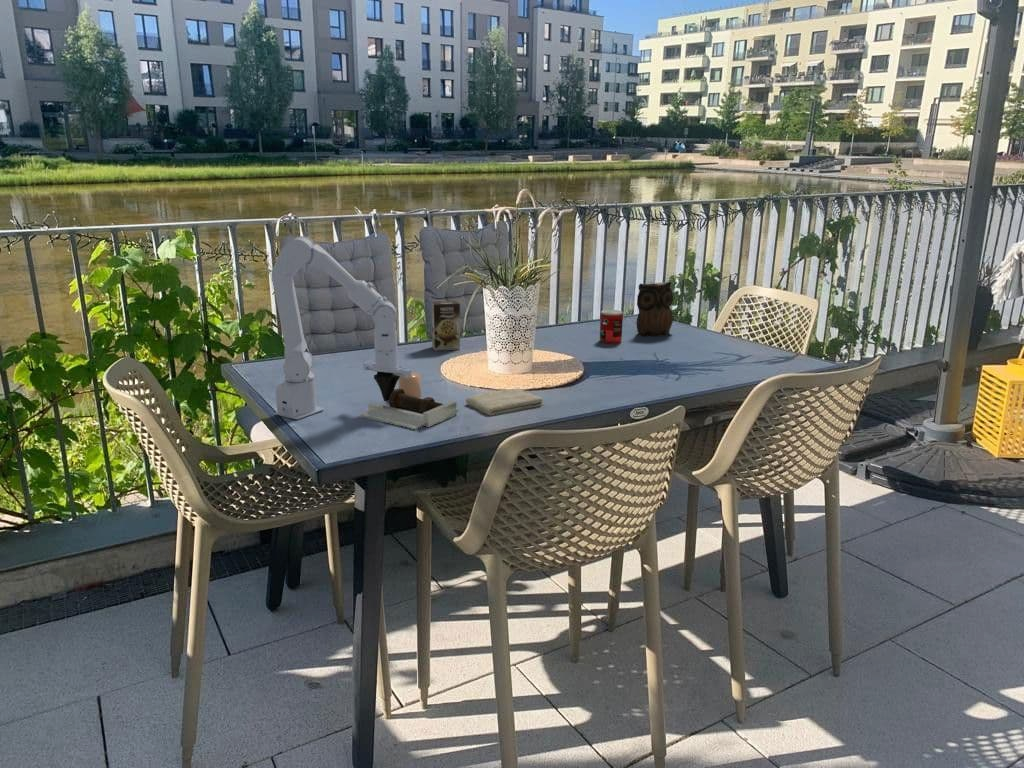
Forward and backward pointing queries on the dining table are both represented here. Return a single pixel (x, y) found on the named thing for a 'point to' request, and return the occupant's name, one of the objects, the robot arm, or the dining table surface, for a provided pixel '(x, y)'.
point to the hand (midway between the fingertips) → (387, 400)
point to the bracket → (410, 415)
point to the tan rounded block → (411, 385)
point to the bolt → (411, 401)
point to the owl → (654, 309)
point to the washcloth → (503, 401)
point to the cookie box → (446, 325)
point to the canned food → (611, 326)
